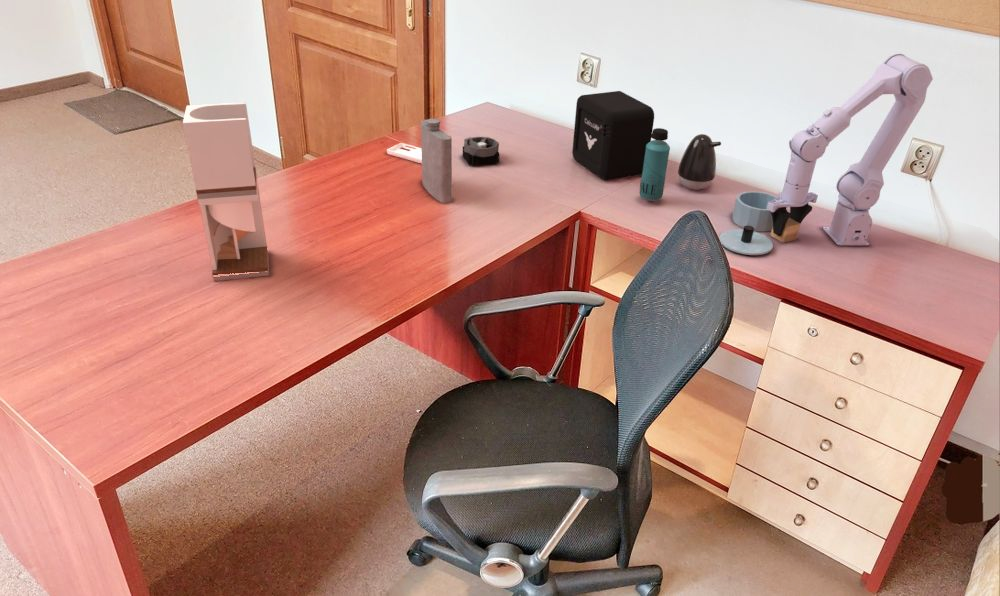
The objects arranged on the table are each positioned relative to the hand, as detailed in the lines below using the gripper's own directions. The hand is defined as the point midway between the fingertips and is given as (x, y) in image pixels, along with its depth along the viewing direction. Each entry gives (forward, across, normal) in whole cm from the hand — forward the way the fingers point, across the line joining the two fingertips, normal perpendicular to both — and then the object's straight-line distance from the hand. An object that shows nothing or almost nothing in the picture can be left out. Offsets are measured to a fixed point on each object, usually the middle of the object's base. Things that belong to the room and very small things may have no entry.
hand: (784, 232), depth 188 cm
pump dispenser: (+2, 0, -34) cm, 34 cm away
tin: (+1, 0, -10) cm, 10 cm away
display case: (+2, +124, -39) cm, 130 cm away
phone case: (+2, +65, -86) cm, 107 cm away
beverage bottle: (+2, +18, -31) cm, 36 cm away
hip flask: (+2, +69, -59) cm, 91 cm away
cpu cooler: (+2, +48, -75) cm, 89 cm away
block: (+1, 0, 0) cm, 1 cm away
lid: (+1, +12, -1) cm, 12 cm away
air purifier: (+2, +16, -55) cm, 57 cm away
